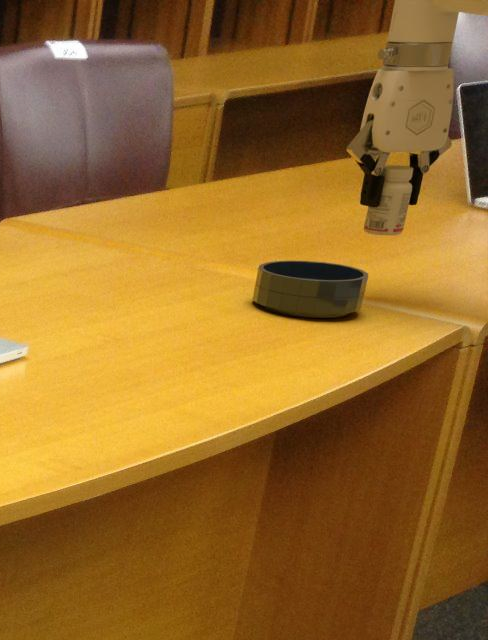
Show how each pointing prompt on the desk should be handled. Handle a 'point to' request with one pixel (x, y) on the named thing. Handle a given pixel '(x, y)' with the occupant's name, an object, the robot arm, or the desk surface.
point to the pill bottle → (391, 202)
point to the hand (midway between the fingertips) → (388, 203)
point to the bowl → (310, 288)
